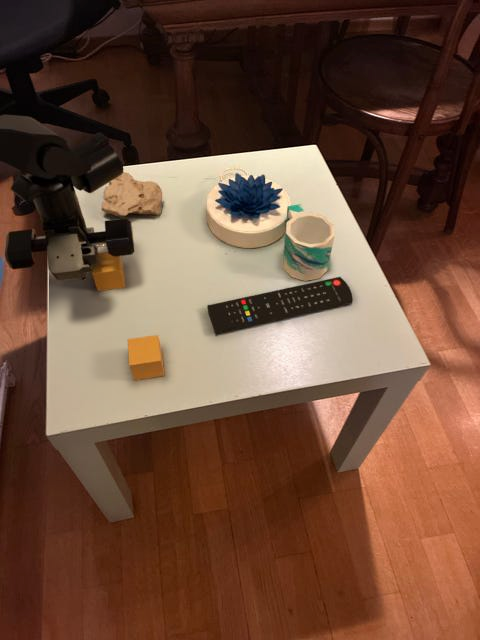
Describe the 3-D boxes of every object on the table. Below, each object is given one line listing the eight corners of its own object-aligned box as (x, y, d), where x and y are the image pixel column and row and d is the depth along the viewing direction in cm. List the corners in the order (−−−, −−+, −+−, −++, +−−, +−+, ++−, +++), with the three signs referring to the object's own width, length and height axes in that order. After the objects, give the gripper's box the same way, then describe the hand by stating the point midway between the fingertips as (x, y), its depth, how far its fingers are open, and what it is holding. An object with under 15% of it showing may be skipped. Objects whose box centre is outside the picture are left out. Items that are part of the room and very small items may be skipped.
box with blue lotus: (305, 211, 84) (269, 143, 95) (218, 228, 81) (191, 156, 92) (300, 240, 90) (266, 172, 101) (218, 256, 87) (193, 185, 98)
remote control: (207, 310, 80) (207, 305, 79) (341, 281, 84) (343, 275, 83) (215, 336, 77) (215, 331, 76) (354, 304, 81) (355, 299, 80)
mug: (289, 284, 83) (293, 249, 76) (270, 236, 90) (272, 200, 83) (334, 275, 84) (342, 240, 78) (312, 228, 91) (317, 193, 84)
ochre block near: (164, 375, 73) (161, 360, 69) (134, 380, 72) (129, 365, 68) (161, 350, 75) (158, 334, 71) (132, 355, 74) (127, 339, 71)
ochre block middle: (124, 287, 82) (120, 269, 78) (97, 291, 82) (91, 273, 78) (123, 267, 85) (118, 249, 81) (97, 271, 84) (91, 253, 80)
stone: (122, 186, 97) (117, 165, 93) (170, 206, 94) (167, 185, 90) (94, 213, 92) (87, 193, 88) (143, 234, 89) (139, 214, 85)
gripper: (-17, 256, 63) (24, 324, 76) (128, 239, 66) (144, 307, 78) (-9, 199, 69) (27, 271, 82) (123, 185, 72) (138, 257, 85)
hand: (84, 277), depth 82 cm, fingers closed
